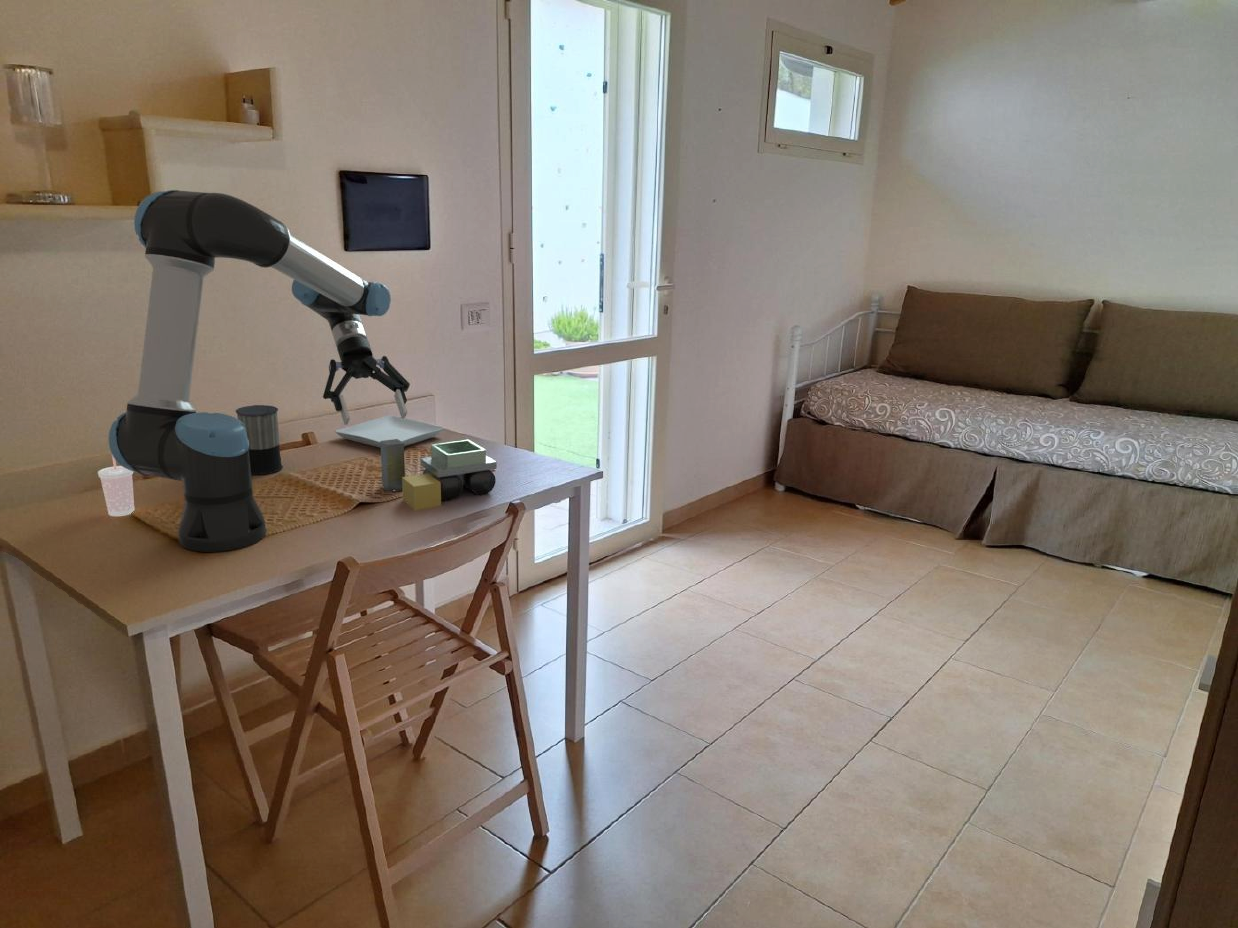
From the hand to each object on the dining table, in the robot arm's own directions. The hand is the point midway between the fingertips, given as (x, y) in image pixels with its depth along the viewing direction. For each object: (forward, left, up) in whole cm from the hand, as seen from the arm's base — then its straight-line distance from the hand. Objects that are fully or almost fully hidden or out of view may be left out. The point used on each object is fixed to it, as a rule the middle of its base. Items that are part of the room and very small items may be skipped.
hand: (376, 418), depth 192 cm
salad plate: (+13, +29, -15) cm, 35 cm away
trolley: (+12, -19, -14) cm, 26 cm away
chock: (+2, -22, -14) cm, 26 cm away
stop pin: (0, -10, -14) cm, 17 cm away
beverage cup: (-53, +1, -14) cm, 55 cm away
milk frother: (-27, +18, -14) cm, 35 cm away
